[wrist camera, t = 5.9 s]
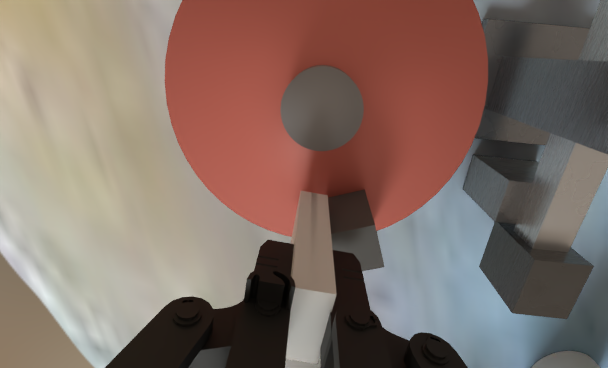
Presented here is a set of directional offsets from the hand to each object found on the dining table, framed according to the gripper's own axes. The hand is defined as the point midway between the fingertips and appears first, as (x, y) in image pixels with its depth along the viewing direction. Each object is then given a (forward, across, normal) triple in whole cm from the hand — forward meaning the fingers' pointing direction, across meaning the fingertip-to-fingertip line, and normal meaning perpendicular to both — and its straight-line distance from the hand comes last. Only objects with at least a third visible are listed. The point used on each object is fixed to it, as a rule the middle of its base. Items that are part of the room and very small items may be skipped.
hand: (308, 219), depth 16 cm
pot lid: (+3, 0, -5) cm, 6 cm away
